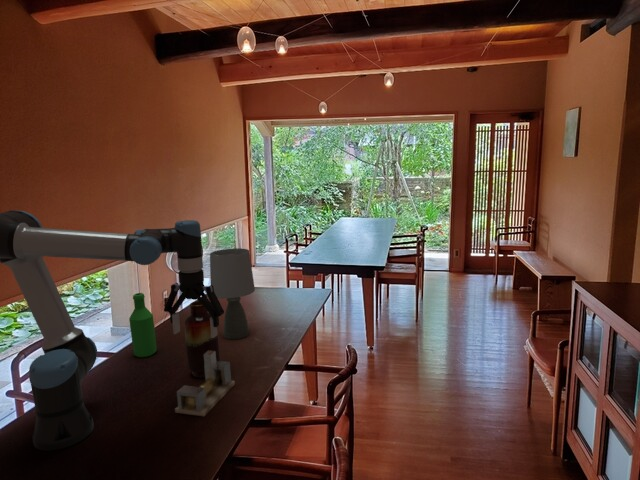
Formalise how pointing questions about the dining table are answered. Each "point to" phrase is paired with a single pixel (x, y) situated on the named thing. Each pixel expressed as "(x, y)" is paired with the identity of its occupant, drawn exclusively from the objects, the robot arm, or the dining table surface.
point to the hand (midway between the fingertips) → (195, 334)
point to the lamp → (232, 287)
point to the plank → (209, 400)
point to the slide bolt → (207, 377)
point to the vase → (199, 338)
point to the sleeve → (193, 392)
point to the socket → (223, 371)
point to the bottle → (142, 328)
